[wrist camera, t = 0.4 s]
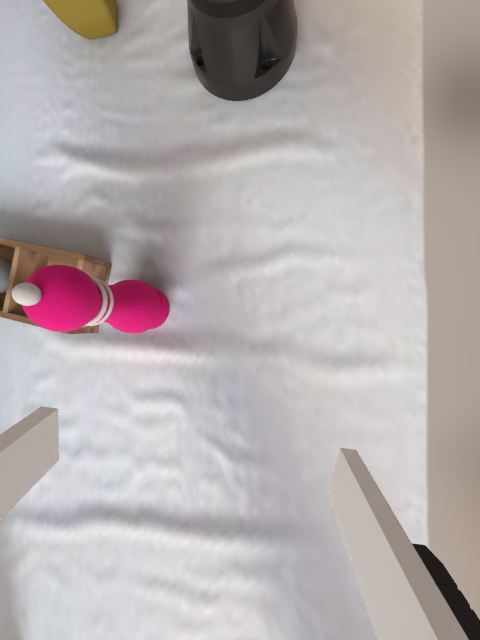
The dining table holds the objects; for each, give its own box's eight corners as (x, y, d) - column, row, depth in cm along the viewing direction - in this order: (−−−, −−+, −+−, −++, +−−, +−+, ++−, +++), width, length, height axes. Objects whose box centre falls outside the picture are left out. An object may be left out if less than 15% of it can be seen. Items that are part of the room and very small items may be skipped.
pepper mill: (146, 341, 38) (7, 361, 18) (119, 304, 39) (-42, 285, 19) (181, 312, 37) (77, 300, 18) (154, 275, 38) (23, 223, 18)
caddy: (-1, 241, 42) (-42, 229, 37) (111, 264, 39) (85, 254, 34) (-14, 305, 42) (-57, 302, 37) (97, 332, 39) (69, 334, 34)
